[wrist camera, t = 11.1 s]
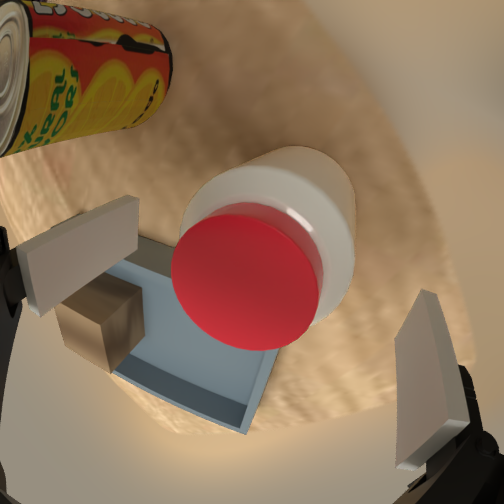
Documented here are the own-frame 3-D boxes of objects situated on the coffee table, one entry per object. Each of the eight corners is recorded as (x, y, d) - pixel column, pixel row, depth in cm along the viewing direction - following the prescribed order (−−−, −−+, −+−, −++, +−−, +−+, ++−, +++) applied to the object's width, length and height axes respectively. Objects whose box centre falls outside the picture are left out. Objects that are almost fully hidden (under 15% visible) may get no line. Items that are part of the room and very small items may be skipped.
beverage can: (182, 112, 20) (38, 130, 10) (95, 141, 23) (-27, 177, 13) (164, 4, 17) (32, -34, 6) (81, 49, 20) (-37, 52, 9)
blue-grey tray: (79, 213, 27) (50, 227, 24) (299, 290, 23) (288, 320, 20) (92, 331, 34) (73, 349, 31) (257, 407, 30) (246, 434, 27)
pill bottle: (256, 130, 19) (156, 152, 10) (373, 170, 18) (393, 232, 8) (230, 235, 23) (142, 324, 13) (332, 273, 22) (305, 395, 12)
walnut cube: (94, 267, 28) (51, 297, 23) (142, 287, 27) (100, 325, 22) (100, 314, 31) (65, 346, 26) (145, 335, 30) (110, 373, 24)
